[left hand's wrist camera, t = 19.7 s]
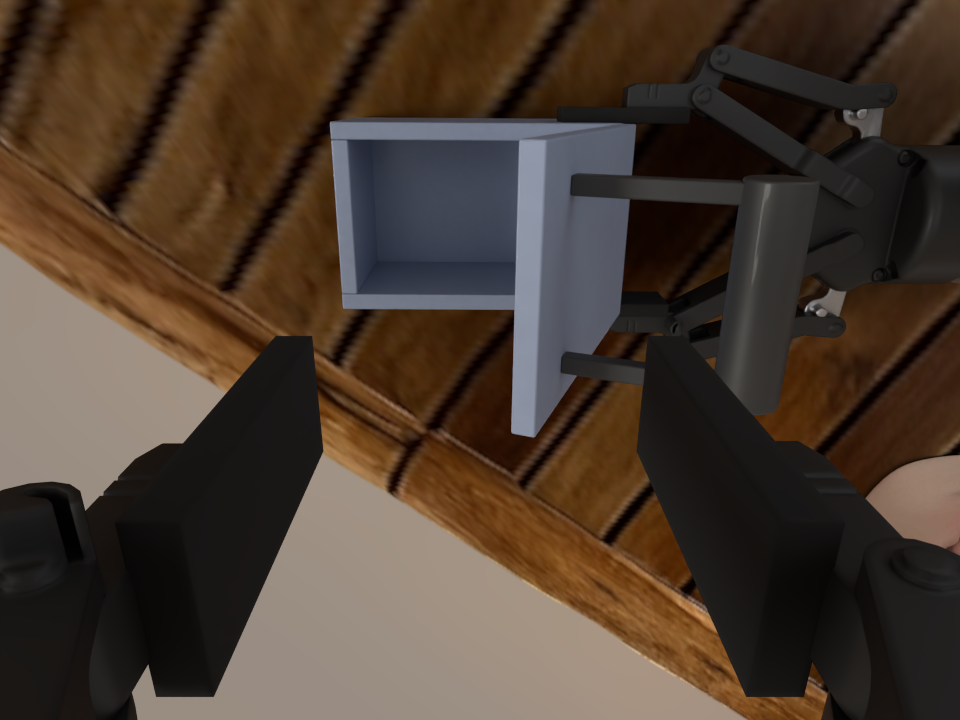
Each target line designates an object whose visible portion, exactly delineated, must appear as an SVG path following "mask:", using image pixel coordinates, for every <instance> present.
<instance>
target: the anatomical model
mask: <svg viewBox="0 0 960 720" xmlns="http://www.w3.org/2000/svg"><path fill="white" fill-rule="evenodd" d="M866 500H867V501H868V502H869V503H870V504H871V505H872V506H873V507H874V508H875V509H876V510H877V511H878V512H879V513H880V514H881V515H882V516H883V517H884V518H885V519H886V520H887V521H888V522H889V523H890V524H891V525H892V526H893V527H894V528H895V530H896V531H897V532H898V533H899V534H900V535H901V536H902V537H903V538H908V539H916V540H920V541H923V542H927V543H931V544H934V545H938V546H940V547H943V548H945V549H947V550H949V551H951V552H953V553H956V554H958V555H960V455H953V456H943V457H935V458H930V459H924V460H920V461H916V462H912V463H909V464H907V465H904V466H902V467H900V468H898V469H896V470H895V471H893V472H892V473H890V474H889V475H888V476H886V477H885V478H884V479H883V480H882V481H881V482H880V483H879V484H878V485H877V486H876V487H875V488H874V489H873V490H872V491H871V492H870V493H869V495H868V496H867V497H866Z"/></svg>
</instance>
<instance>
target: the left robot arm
mask: <svg viewBox="0 0 960 720" xmlns="http://www.w3.org/2000/svg"><path fill="white" fill-rule="evenodd" d="M322 453H323V443H322V433H321V423H320V412H319V402H318V392H317V382H316V372H315V361H314V351H313V341H312V336H275V338H274V339H273V340H272V341H271V342H270V343H269V345H268V346H267V347H266V348H265V349H264V350H263V352H262V353H261V354H260V355H259V356H258V357H257V358H256V360H255V361H254V362H253V363H252V364H251V365H250V367H249V368H248V369H247V370H246V371H245V372H244V373H243V375H242V376H241V377H240V378H239V379H238V380H237V382H236V383H235V384H234V385H233V386H232V387H231V389H230V390H229V391H228V392H227V393H226V394H225V395H224V397H223V398H222V399H221V400H220V401H219V402H218V404H217V405H216V406H215V407H214V408H213V409H212V411H211V412H210V413H209V414H208V415H207V416H206V418H205V419H204V420H203V421H202V422H201V423H200V424H199V426H198V427H197V428H196V429H195V430H194V431H193V433H192V434H191V435H190V436H189V437H188V438H187V439H186V441H185V442H184V443H183V444H161V445H159V446H157V447H155V448H154V449H152V450H150V451H148V452H147V453H145V454H143V455H141V456H140V457H138V458H136V459H135V460H134V461H133V462H132V463H131V464H130V465H129V466H128V467H127V468H126V469H125V470H124V471H123V472H122V473H121V474H120V476H119V477H118V481H114V482H113V483H112V484H111V485H110V486H109V487H108V488H107V489H106V490H105V491H104V495H103V496H99V497H98V498H97V499H96V501H95V502H94V503H93V504H92V505H91V506H90V507H89V508H88V509H87V510H86V511H85V508H84V504H83V500H82V496H81V492H80V491H79V490H78V489H76V488H75V487H73V486H72V485H70V484H65V483H58V482H42V483H30V484H25V485H21V486H17V487H13V488H8V489H5V490H2V491H0V720H137V714H136V708H135V703H134V699H133V695H132V691H133V689H134V687H135V686H136V684H137V682H138V681H139V679H140V677H141V675H142V674H143V672H144V670H145V669H146V667H147V665H149V669H150V673H151V677H152V681H153V685H154V690H155V694H156V697H214V695H215V693H216V691H217V688H218V686H219V684H220V682H221V679H222V677H223V675H224V673H225V670H226V668H227V666H228V664H229V661H230V659H231V657H232V654H233V652H234V650H235V648H236V646H237V643H238V641H239V639H240V637H241V634H242V632H243V630H244V628H245V626H246V623H247V621H248V619H249V617H250V614H251V612H252V610H253V608H254V605H255V603H256V601H257V599H258V596H259V594H260V592H261V590H262V587H263V585H264V583H265V581H266V578H267V576H268V574H269V572H270V569H271V567H272V565H273V563H274V561H275V558H276V556H277V554H278V551H279V549H280V547H281V545H282V543H283V540H284V538H285V536H286V534H287V531H288V529H289V527H290V525H291V522H292V520H293V518H294V516H295V513H296V511H297V509H298V507H299V504H300V502H301V500H302V498H303V496H304V493H305V491H306V489H307V487H308V484H309V482H310V480H311V478H312V475H313V473H314V471H315V469H316V466H317V464H318V462H319V459H320V457H321V455H322ZM637 453H638V455H639V457H640V460H641V462H642V464H643V466H644V469H645V471H646V473H647V475H648V478H649V480H650V482H651V484H652V487H653V489H654V491H655V493H656V496H657V498H658V500H659V502H660V505H661V507H662V509H663V511H664V513H665V516H666V518H667V520H668V522H669V525H670V527H671V529H672V531H673V534H674V536H675V538H676V540H677V543H678V545H679V547H680V549H681V552H682V554H683V556H684V558H685V561H686V563H687V565H688V567H689V570H690V572H691V574H692V576H693V578H694V581H695V583H696V585H697V587H698V590H699V592H700V594H701V596H702V599H703V601H704V603H705V605H706V608H707V610H708V612H709V614H710V617H711V619H712V621H713V623H714V626H715V628H716V630H717V632H718V635H719V637H720V639H721V641H722V644H723V646H724V648H725V650H726V652H727V655H728V657H729V659H730V661H731V664H732V666H733V668H734V670H735V673H736V675H737V677H738V679H739V682H740V684H741V686H742V688H743V691H744V693H745V695H746V697H804V694H805V690H806V685H807V681H808V677H809V673H810V669H811V665H812V662H813V664H814V665H815V667H816V669H817V670H818V672H819V674H820V676H821V677H822V679H823V681H824V682H825V684H826V686H827V687H828V689H829V691H828V695H827V699H826V703H825V707H824V711H823V715H822V719H821V720H960V555H958V554H956V553H953V552H951V551H949V550H947V549H945V548H943V547H940V546H938V545H934V544H931V543H927V542H923V541H920V540H916V539H908V538H903V537H902V536H901V535H900V534H899V533H898V532H897V531H896V530H895V528H894V527H893V526H892V525H891V524H890V523H889V522H888V521H887V520H886V519H885V518H884V517H883V516H882V515H881V514H880V513H879V512H878V511H877V510H876V509H875V508H874V507H873V506H872V505H871V504H870V503H869V502H868V501H867V500H866V498H865V497H864V496H863V495H862V494H857V489H856V488H855V487H854V486H853V485H852V484H851V483H850V482H849V481H848V480H847V479H846V478H843V477H842V474H841V473H840V472H839V471H838V470H837V468H836V467H835V466H834V465H833V464H832V463H831V462H830V461H829V460H828V459H827V458H826V457H825V456H823V455H821V454H819V453H818V452H816V451H814V450H812V449H811V448H809V447H807V446H805V445H804V444H802V443H800V442H798V441H774V439H773V438H772V437H771V436H770V435H769V434H768V433H767V431H766V430H765V429H764V428H763V427H762V426H761V424H760V423H759V422H758V421H757V420H756V419H755V417H754V416H753V415H752V414H751V413H750V412H749V411H748V409H747V408H746V407H745V406H744V405H743V404H742V402H741V401H740V400H739V399H738V398H737V397H736V395H735V394H734V393H733V392H732V391H731V390H730V389H729V387H728V386H727V385H726V384H725V383H724V382H723V380H722V379H721V378H720V377H719V376H718V375H717V374H716V372H715V371H714V370H713V369H712V368H711V367H710V365H709V364H708V363H707V362H706V361H705V360H704V358H703V357H702V356H701V355H700V354H699V353H698V352H697V350H696V349H695V348H694V347H693V346H692V345H691V343H690V342H689V341H688V340H687V339H686V338H685V336H648V341H647V351H646V361H645V371H644V382H643V392H642V402H641V412H640V422H639V433H638V443H637Z"/></svg>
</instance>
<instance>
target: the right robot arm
mask: <svg viewBox="0 0 960 720" xmlns="http://www.w3.org/2000/svg"><path fill="white" fill-rule="evenodd" d="M722 79H726V80H729V81H732V82H735V83H738V84H742V85H745V86H748V87H751V88H754V89H757V90H761V91H764V92H767V93H770V94H773V95H777V96H780V97H783V98H786V99H789V100H792V101H796V102H799V103H802V104H805V105H808V106H811V107H816V108H820V109H832V110H835V113H834V115H835V118H836V121H837V122H838V123H839V124H841V125H846V126H848V127H850V129H851V130H852V133H853V137H852V138H850V139H848V140H847V141H845V142H844V143H842V144H841V145H839V146H838V147H836V148H834V149H833V150H831V151H830V152H828V153H827V154H825V155H824V156H822V155H821V154H819V153H818V152H816V151H814V150H811V149H809V148H807V147H805V146H804V145H802V144H801V143H799V142H798V141H796V140H794V139H793V138H791V137H790V136H788V135H787V134H785V133H784V132H782V131H781V130H779V129H778V128H776V127H775V126H773V125H772V124H770V123H768V122H767V121H765V120H764V119H762V118H761V117H759V116H758V115H756V114H755V113H753V112H752V111H750V110H749V109H747V108H746V107H744V106H742V105H741V104H739V103H738V102H736V101H735V100H733V99H732V98H730V97H729V96H727V95H726V94H724V93H723V92H721V91H720V90H718V87H719V85H720V83H721V81H722ZM896 96H897V89H896V87H895V85H893V84H892V83H865V84H848V83H845V82H841V81H838V80H835V79H832V78H829V77H826V76H823V75H820V74H816V73H813V72H810V71H807V70H804V69H801V68H798V67H795V66H792V65H788V64H785V63H782V62H779V61H776V60H773V59H770V58H767V57H763V56H760V55H757V54H754V53H751V52H748V51H745V50H742V49H738V48H735V47H732V46H729V45H719V46H714V47H710V48H706V49H703V50H702V51H701V52H700V53H699V54H698V56H697V59H696V66H695V68H694V70H693V73H692V74H691V76H690V78H689V79H688V80H687V81H685V82H684V83H681V84H649V83H638V84H632V85H629V86H627V87H625V88H623V98H622V107H558V109H557V121H559V122H563V123H653V124H689V122H690V113H691V112H693V113H694V114H696V115H697V116H699V117H700V118H702V119H704V120H705V121H707V122H708V123H710V124H711V125H713V126H714V127H716V128H718V129H719V130H721V131H722V132H724V133H725V134H727V135H728V136H730V137H732V138H733V139H735V140H736V141H738V142H739V143H741V144H743V145H744V146H746V147H747V148H749V149H750V150H752V151H753V152H755V153H757V154H758V155H760V156H761V157H763V158H764V159H766V160H768V161H769V162H771V163H772V164H773V165H774V166H775V167H776V168H778V169H779V170H781V171H782V172H784V173H785V174H787V175H790V176H802V177H810V178H815V179H817V180H819V181H820V187H819V193H818V198H817V203H816V209H815V214H814V219H813V224H812V230H811V235H810V240H809V246H808V251H807V256H806V262H805V267H804V272H803V277H802V279H804V278H806V277H808V276H810V275H812V276H813V277H814V278H815V279H817V280H818V281H819V282H820V283H822V284H823V286H822V288H821V290H820V291H819V292H818V293H816V294H814V295H809V296H806V297H802V298H801V299H800V300H799V304H797V309H796V315H795V320H794V325H793V331H792V336H791V338H795V337H799V336H804V335H807V336H819V337H831V338H834V337H838V336H840V335H842V334H843V333H844V331H845V329H846V323H845V321H844V320H843V319H841V318H840V317H839V315H840V312H841V308H842V305H843V302H844V298H845V295H846V292H847V291H850V290H852V289H854V288H856V287H858V286H861V285H864V284H868V283H946V282H953V283H960V145H893V144H891V143H889V142H888V141H886V140H885V139H883V138H881V137H880V133H881V126H882V118H883V111H884V108H885V107H888V106H890V105H891V104H892V103H893V102H894V101H895V99H896ZM728 275H729V272H727V273H725V274H723V275H721V276H719V277H717V278H715V279H713V280H711V281H709V282H707V283H705V284H703V285H701V286H699V287H697V288H695V289H693V290H691V291H689V292H687V293H685V294H683V295H681V296H679V297H677V298H675V299H673V300H671V301H669V302H666V301H665V300H664V299H663V298H662V297H661V295H660V294H659V293H658V292H622V294H621V305H620V314H619V315H618V317H617V318H616V320H615V321H614V323H613V324H612V325H611V327H610V328H609V329H610V330H613V331H615V332H652V333H662V334H663V335H664V336H685V338H686V339H687V340H688V341H689V342H690V343H691V345H692V346H693V347H694V348H695V349H696V350H697V352H698V353H699V354H700V355H701V356H702V357H703V358H704V359H709V358H713V357H717V350H718V343H719V337H720V330H721V323H722V320H719V321H715V322H711V323H706V322H708V321H710V320H712V319H714V318H716V317H718V316H720V315H722V314H723V309H724V302H725V296H726V289H727V282H728ZM703 323H706V324H703ZM701 324H702V325H701Z"/></svg>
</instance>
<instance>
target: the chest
mask: <svg viewBox="0 0 960 720" xmlns="http://www.w3.org/2000/svg"><path fill="white" fill-rule="evenodd" d="M616 124H623V123H563V122H559V121H557V119H527V118H382V117H359V118H352V119H346V120H339V121H332V122H330V131H331V139H333V140H332V141H331V145H332V159H333V173H334V186H335V200H336V214H337V228H338V242H339V256H340V270H341V284H342V293H343V294H342V300H343V309H470V310H515V277H516V239H517V202H518V164H519V141H520V139H524V138H530V137H537V136H543V135H550V134H557V133H563V132H570V131H576V130H583V129H590V128H596V127H603V126H609V125H616Z"/></svg>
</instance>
